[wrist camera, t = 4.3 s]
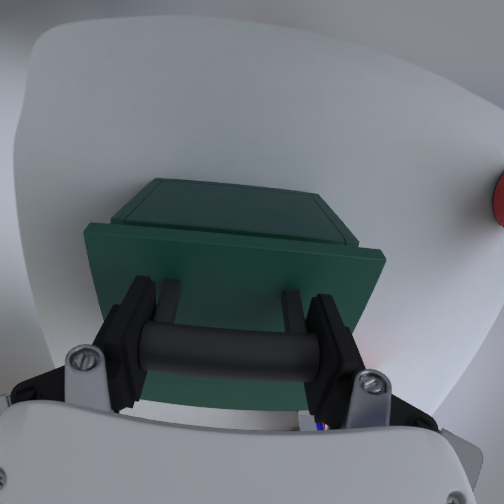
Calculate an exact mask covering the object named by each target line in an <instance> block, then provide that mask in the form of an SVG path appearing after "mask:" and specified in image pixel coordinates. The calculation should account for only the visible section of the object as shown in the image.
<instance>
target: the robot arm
mask: <svg viewBox="0 0 504 504" xmlns="http://www.w3.org/2000/svg"><path fill="white" fill-rule="evenodd" d="M155 311H156V284H155V281H152V280H151V277H149V276H141V275H136V277H135V279H134V280H133V282H132V284H131V286H130V288H129V290H128V292H127V293H126V295H125V297H124V299H123V301H122V303H121V305H120V304H114V305H113V306H112V308H111V310H110V311H109V313H108V315H107V317H106V319H105V321H104V323H103V324H102V326H101V328H100V330H99V332H98V334H97V336H96V338H95V340H94V342H93V344H92V345H90V344H83V345H78V346H76V347H74V348H72V349H71V350H70V351H69V352H68V354H67V355H66V358H65V365H64V366H62V367H59V368H57V369H54V370H52V371H49V372H46V373H44V374H41V375H39V376H36V377H33V378H31V379H28V380H25V381H23V382H21V383H19V384H17V385H16V386H15V387H14V388H13V390H12V392H11V395H10V396H6V395H5V394H3V395H0V504H476V501H475V498H474V495H473V491H474V488H475V486H476V483H477V480H478V477H479V473H480V470H481V467H482V463H483V454H482V452H481V450H480V449H479V448H478V447H477V446H475V445H474V444H472V443H470V442H468V441H466V440H464V439H462V438H460V437H458V436H456V435H454V434H452V433H451V432H449V431H447V430H445V429H442V430H441V431H440V430H438V425H437V424H436V421H435V420H434V419H433V418H432V417H431V416H429V415H428V414H426V413H424V412H423V411H421V410H419V409H417V408H416V407H414V406H412V405H410V404H408V403H407V402H405V401H403V400H401V399H400V398H398V397H396V396H395V395H393V394H391V391H392V387H391V382H390V380H389V379H388V378H387V377H386V376H385V375H384V374H383V373H381V372H379V371H377V370H373V369H366V368H365V366H364V363H363V361H362V358H361V356H360V353H359V351H358V348H357V346H356V343H355V341H354V338H353V336H352V333H351V331H350V329H349V327H347V326H344V323H343V321H342V318H341V316H340V313H339V311H338V309H337V306H336V304H335V301H334V299H333V296H332V295H331V294H317V296H316V297H312V299H311V303H310V306H309V310H308V313H307V317H306V320H305V323H306V328H307V333H314V334H316V335H317V337H318V340H319V344H320V367H319V371H318V374H317V377H316V379H315V380H314V381H313V382H303V383H304V388H305V393H306V399H307V404H308V410H309V414H310V415H311V416H313V415H314V420H315V423H324V424H326V425H327V426H328V429H327V430H317V431H259V430H238V429H223V428H212V427H201V426H192V425H184V424H176V423H169V422H162V421H156V420H150V419H144V418H139V417H133V416H128V415H123V414H120V410H122V409H124V408H126V407H128V408H133V405H134V402H135V401H139V400H140V397H141V393H142V389H143V386H144V382H145V379H146V375H147V372H148V371H145V370H142V369H141V367H140V364H139V358H138V347H139V338H140V333H141V329H142V326H143V324H144V322H145V321H147V320H150V321H153V318H154V314H155Z"/></svg>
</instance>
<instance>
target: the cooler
mask: <svg viewBox="0 0 504 504" xmlns="http://www.w3.org/2000/svg"><path fill="white" fill-rule="evenodd" d="M111 224H117V225H129V226H141V227H154V228H165V229H177V230H188V231H200V232H211V233H222V234H233V235H243V236H254V237H264V238H274V239H284V240H294V241H304V242H314V243H324V244H333V245H343V246H352V247H358V246H359V241H358V240H357V239H356V237H355V236H354V235H353V234H352V233H351V231H350V230H349V229H348V228H347V227H346V226H345V224H344V223H343V222H342V221H341V220H340V218H339V217H338V216H337V215H336V214H335V213H334V212H333V210H332V209H331V208H330V207H329V206H328V205H327V204H326V202H325V201H324V200H323V199H322V198H321V197H320V196H319V195H318V194H314V193H306V192H299V191H291V190H283V189H274V188H266V187H257V186H247V185H237V184H227V183H216V182H204V181H192V180H178V179H163V178H155V179H154V180H153V181H151V182H150V183H149V184H148V185H147V186H146V187H145V188H143V189H142V190H141V191H140V192H139V193H138V194H137V195H136V196H134V197H133V198H132V199H131V200H130V201H129V202H128V203H127V204H126V205H125V206H123V207H122V208H121V209H120V210H119V211H118V212H117V213H116V214H115V215H114V216H113V217H112V218H111Z"/></svg>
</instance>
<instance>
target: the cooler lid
mask: <svg viewBox="0 0 504 504" xmlns="http://www.w3.org/2000/svg"><path fill="white" fill-rule="evenodd" d="M83 233H84V239H85V244H86V249H87V254H88V259H89V264H90V268H91V273H92V277H93V281H94V285H95V289H96V293H97V297H98V301H99V305H100V308H101V312H102V316H103V319H104V321H105V319H106V317H107V315H108V313H109V311H110V310H111V308H112V306H113V305H114V304H120V305H121V303H122V301H123V299H124V297H125V295H126V293H127V292H128V290H129V288H130V286H131V284H132V282H133V280H134V279H135V277H136V275H141V276H149V277H151V280H152V281H155V284H156V311H155V314H154V318H153V321H150V320H147V321H145V322H144V324H143V326H142V329H141V333H140V338H139V347H138V358H139V364H140V367H141V369H142V370H145V371H148V372H147V375H146V379H145V382H144V386H143V389H142V393H141V397H140V399H143V400H149V401H156V402H163V403H170V404H178V405H187V406H197V407H207V408H220V409H236V410H261V411H306V410H308V404H307V399H306V393H305V388H304V383H303V382H313V381H314V380H315V379H316V377H317V374H318V371H319V367H320V344H319V340H318V337H317V335H316V334H314V333H307V328H306V323H305V320H306V317H307V313H308V310H309V306H310V303H311V299H312V297H316V296H317V294H331V295H332V296H333V299H334V301H335V304H336V306H337V309H338V311H339V313H340V316H341V318H342V321H343V323H344V326H347V327H349V329H350V331H351V333H353V331H354V329H355V327H356V325H357V323H358V321H359V319H360V317H361V315H362V313H363V311H364V309H365V307H366V305H367V303H368V300H369V298H370V296H371V294H372V292H373V290H374V287H375V285H376V283H377V281H378V279H379V276H380V274H381V272H382V269H383V267H384V265H385V262H386V258H385V256H384V254H383V253H382V251H381V250H380V249H370V248H361V247H352V246H343V245H333V244H324V243H314V242H304V241H294V240H284V239H274V238H264V237H254V236H243V235H233V234H222V233H211V232H200V231H188V230H177V229H165V228H154V227H141V226H129V225H117V224H104V223H90V224H89V225H88V226H87V228H86V229H85V230H84V232H83Z"/></svg>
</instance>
